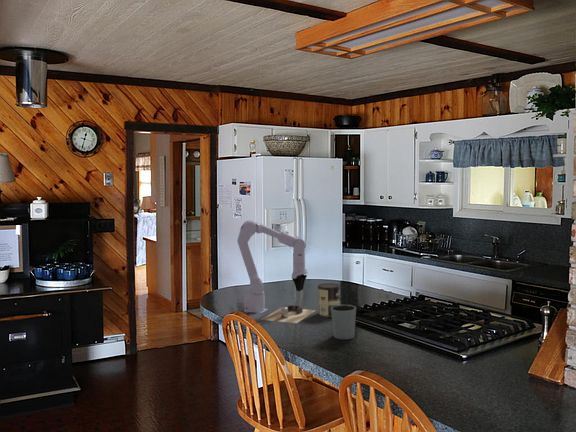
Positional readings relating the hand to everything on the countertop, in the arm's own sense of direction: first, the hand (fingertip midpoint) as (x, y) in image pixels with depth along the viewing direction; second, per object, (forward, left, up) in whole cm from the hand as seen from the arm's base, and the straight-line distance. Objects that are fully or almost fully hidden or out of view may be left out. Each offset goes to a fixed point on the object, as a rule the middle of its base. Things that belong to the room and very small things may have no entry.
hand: (299, 290), depth 279 cm
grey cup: (+34, -36, -10) cm, 50 cm away
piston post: (0, -19, -9) cm, 20 cm away
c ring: (0, -7, -9) cm, 11 cm away
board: (0, -14, -9) cm, 16 cm away
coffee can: (+17, -6, -10) cm, 20 cm away
